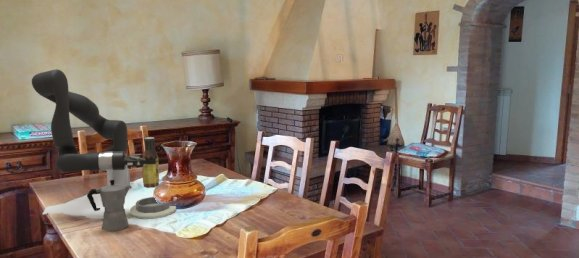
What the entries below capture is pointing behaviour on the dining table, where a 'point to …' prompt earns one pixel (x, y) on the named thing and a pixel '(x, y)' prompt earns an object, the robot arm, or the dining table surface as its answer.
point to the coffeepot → (112, 205)
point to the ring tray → (151, 215)
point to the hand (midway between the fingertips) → (156, 159)
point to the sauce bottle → (150, 169)
